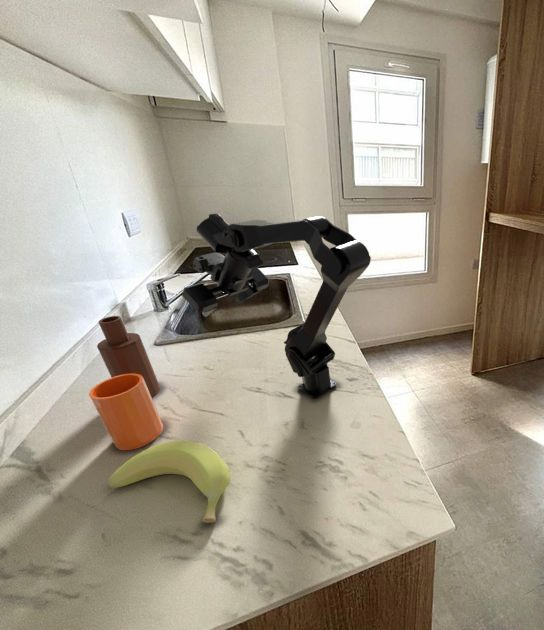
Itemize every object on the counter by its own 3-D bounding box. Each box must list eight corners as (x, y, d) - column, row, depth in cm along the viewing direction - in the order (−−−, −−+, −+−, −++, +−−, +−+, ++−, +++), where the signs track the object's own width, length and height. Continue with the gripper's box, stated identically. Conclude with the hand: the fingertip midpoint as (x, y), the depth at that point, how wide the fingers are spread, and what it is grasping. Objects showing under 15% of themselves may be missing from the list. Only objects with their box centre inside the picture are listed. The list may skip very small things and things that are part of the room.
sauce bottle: (165, 391, 76) (136, 318, 68) (128, 408, 71) (92, 330, 63) (153, 381, 80) (124, 309, 72) (118, 395, 75) (82, 320, 67)
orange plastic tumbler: (169, 432, 65) (149, 383, 60) (122, 456, 60) (96, 405, 55) (154, 416, 69) (134, 368, 64) (109, 438, 64) (83, 388, 58)
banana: (183, 412, 60) (239, 483, 50) (198, 428, 64) (253, 497, 54) (95, 473, 52) (140, 571, 42) (118, 487, 56) (164, 580, 46)
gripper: (248, 234, 82) (233, 275, 91) (169, 251, 67) (160, 298, 76) (278, 265, 82) (260, 304, 91) (206, 289, 67) (193, 332, 76)
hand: (221, 308), depth 83 cm, fingers open, 9 cm apart
